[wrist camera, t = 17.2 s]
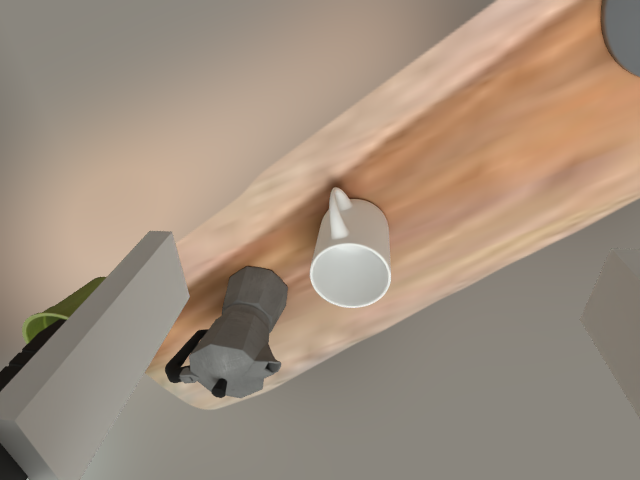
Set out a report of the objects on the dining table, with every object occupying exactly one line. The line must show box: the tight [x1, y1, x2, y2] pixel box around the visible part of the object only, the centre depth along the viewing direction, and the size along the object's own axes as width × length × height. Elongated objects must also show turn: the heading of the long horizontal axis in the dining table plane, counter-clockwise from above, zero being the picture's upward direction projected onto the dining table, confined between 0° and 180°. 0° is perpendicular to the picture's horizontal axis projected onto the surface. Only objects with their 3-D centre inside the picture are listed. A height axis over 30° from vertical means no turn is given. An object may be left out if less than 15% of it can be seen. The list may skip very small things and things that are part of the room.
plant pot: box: [22, 277, 106, 344], centre depth 58 cm, size 12×12×11 cm
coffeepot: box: [165, 267, 288, 398], centre depth 51 cm, size 15×9×18 cm, turn 105°
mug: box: [310, 187, 391, 308], centre depth 45 cm, size 9×12×11 cm
